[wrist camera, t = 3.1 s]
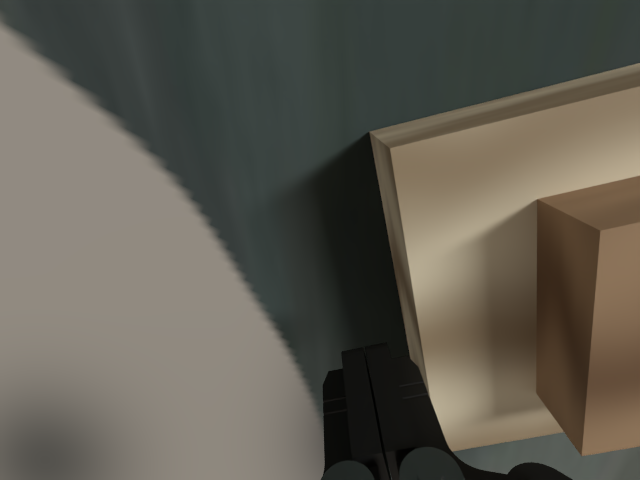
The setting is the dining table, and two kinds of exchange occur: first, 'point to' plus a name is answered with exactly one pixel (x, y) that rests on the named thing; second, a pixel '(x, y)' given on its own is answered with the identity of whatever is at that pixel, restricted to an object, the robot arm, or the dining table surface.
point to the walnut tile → (590, 314)
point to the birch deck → (492, 237)
